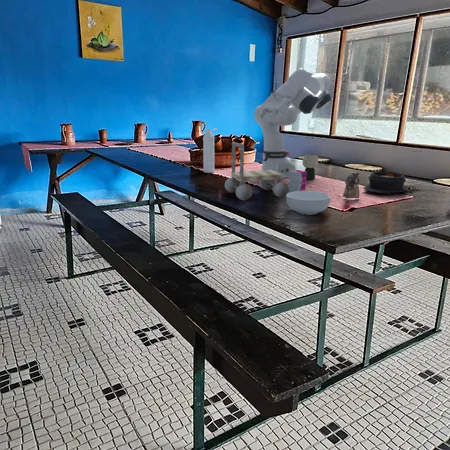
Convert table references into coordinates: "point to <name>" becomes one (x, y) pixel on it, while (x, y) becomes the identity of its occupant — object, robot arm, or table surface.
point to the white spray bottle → (208, 151)
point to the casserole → (386, 182)
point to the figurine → (352, 186)
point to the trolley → (253, 178)
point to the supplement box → (297, 180)
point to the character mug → (310, 165)
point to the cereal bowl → (308, 201)
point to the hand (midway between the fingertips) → (264, 118)
